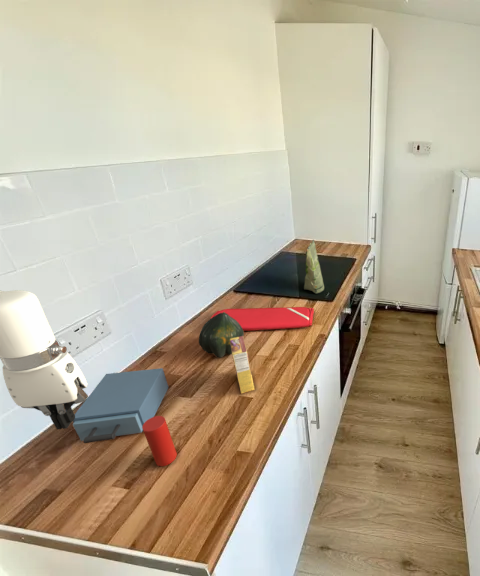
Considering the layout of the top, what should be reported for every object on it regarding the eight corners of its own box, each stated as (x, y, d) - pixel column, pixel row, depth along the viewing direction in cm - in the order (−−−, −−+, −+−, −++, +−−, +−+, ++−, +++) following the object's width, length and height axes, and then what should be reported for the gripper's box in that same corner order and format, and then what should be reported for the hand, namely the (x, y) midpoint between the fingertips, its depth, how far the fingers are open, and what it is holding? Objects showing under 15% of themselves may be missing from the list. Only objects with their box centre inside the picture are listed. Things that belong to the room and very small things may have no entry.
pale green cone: (310, 296, 160) (307, 248, 149) (298, 288, 167) (294, 241, 156) (329, 290, 167) (328, 244, 156) (316, 282, 174) (314, 237, 163)
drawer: (134, 446, 81) (127, 430, 79) (70, 455, 78) (61, 439, 76) (163, 390, 98) (158, 375, 96) (111, 396, 95) (105, 381, 93)
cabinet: (146, 430, 86) (138, 410, 83) (82, 439, 83) (71, 418, 80) (168, 387, 101) (162, 368, 98) (114, 393, 97) (106, 373, 94)
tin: (152, 468, 77) (138, 432, 72) (159, 451, 81) (146, 417, 76) (173, 464, 78) (161, 429, 73) (179, 448, 82) (167, 414, 77)
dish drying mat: (218, 313, 141) (216, 306, 140) (314, 311, 147) (313, 304, 145) (205, 333, 127) (203, 325, 126) (311, 330, 133) (311, 323, 131)
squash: (193, 356, 106) (220, 319, 107) (188, 335, 117) (213, 301, 118) (232, 369, 115) (257, 334, 116) (224, 348, 127) (247, 317, 127)
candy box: (236, 376, 107) (229, 338, 100) (250, 373, 108) (244, 334, 102) (239, 394, 100) (232, 354, 93) (254, 390, 101) (248, 350, 95)
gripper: (90, 339, 66) (116, 406, 74) (-2, 345, 63) (35, 414, 71) (67, 363, 60) (98, 433, 68) (-37, 371, 56) (9, 444, 64)
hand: (66, 423), depth 69 cm, fingers closed
